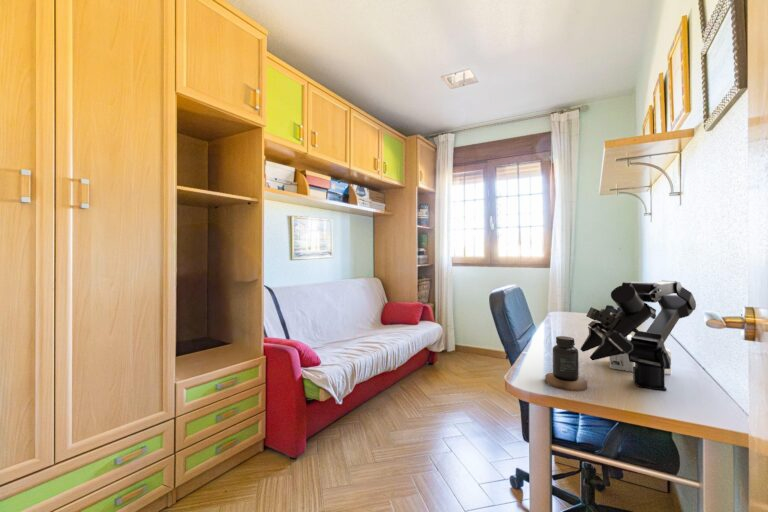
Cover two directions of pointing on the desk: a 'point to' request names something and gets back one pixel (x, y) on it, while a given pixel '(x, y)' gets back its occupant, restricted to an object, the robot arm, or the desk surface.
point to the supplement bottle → (565, 359)
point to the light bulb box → (622, 360)
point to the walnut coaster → (566, 383)
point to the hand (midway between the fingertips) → (586, 354)
